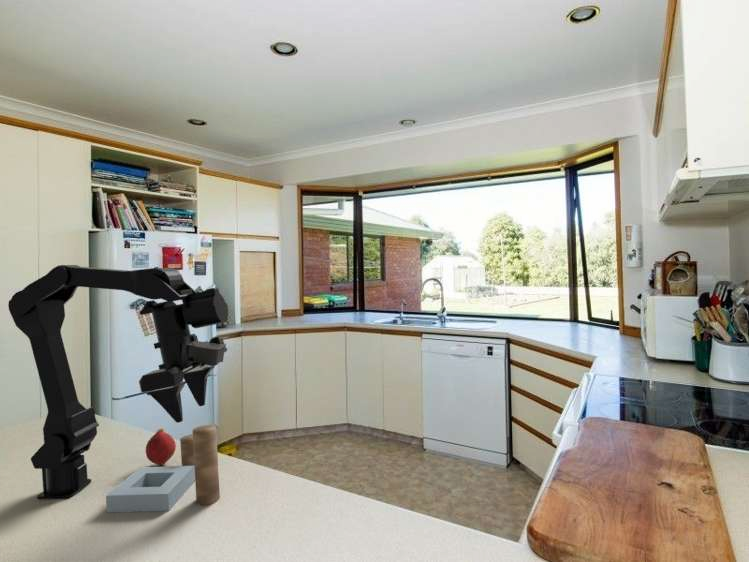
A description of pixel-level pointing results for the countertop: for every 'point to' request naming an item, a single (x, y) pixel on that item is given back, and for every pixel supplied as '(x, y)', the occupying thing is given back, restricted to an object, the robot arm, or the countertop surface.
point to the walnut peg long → (206, 464)
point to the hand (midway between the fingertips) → (191, 413)
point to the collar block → (151, 489)
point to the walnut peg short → (187, 450)
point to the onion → (160, 447)
